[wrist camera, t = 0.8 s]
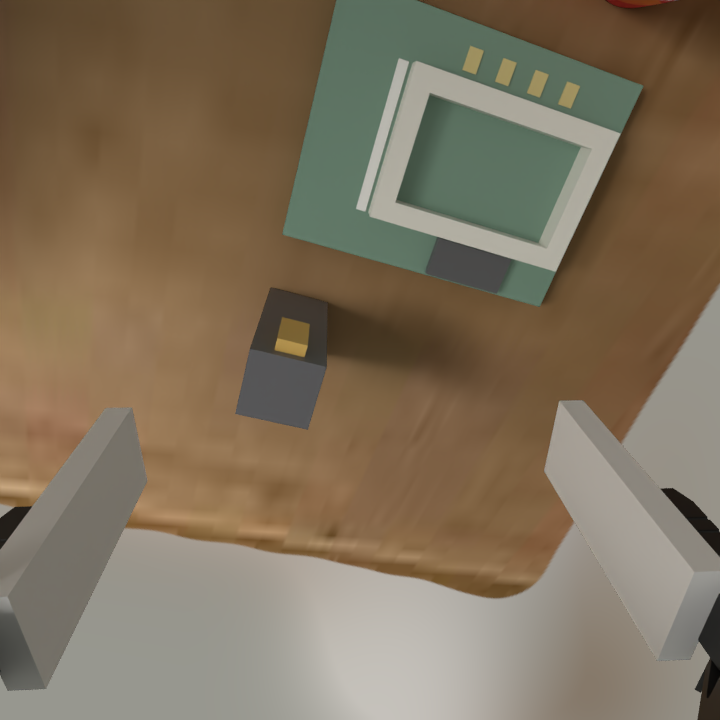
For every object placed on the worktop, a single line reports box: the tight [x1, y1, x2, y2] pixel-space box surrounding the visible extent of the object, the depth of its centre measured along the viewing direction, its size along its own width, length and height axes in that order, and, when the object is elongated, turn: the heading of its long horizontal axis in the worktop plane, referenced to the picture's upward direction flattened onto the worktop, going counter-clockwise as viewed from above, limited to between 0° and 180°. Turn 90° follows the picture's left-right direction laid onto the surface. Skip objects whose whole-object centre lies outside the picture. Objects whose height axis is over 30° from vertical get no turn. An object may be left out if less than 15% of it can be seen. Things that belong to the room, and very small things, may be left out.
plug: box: [235, 288, 328, 430], centre depth 31 cm, size 4×5×10 cm
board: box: [282, 0, 643, 307], centre depth 31 cm, size 18×14×3 cm
